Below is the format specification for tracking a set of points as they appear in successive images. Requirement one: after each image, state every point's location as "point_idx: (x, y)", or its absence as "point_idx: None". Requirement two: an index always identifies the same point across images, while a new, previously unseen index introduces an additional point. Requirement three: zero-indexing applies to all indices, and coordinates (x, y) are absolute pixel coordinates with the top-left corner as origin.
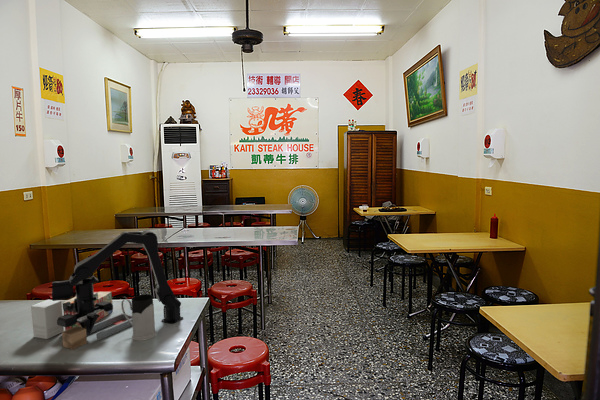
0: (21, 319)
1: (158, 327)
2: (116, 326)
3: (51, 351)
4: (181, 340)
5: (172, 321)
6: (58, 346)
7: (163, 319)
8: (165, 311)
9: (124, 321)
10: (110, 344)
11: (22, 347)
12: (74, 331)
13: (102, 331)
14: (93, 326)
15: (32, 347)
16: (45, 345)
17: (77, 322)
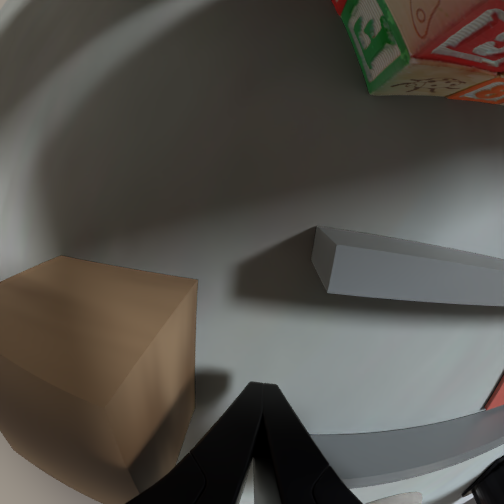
0: None
1: (443, 493)
2: (433, 468)
3: (5, 243)
4: None
5: (472, 491)
6: (47, 212)
7: (500, 463)
8: (499, 500)
9: (497, 439)
10: (249, 500)
11: (22, 11)
12: (39, 453)
13: None
14: (462, 300)
15: (17, 51)
16: (38, 86)
17: (428, 22)
